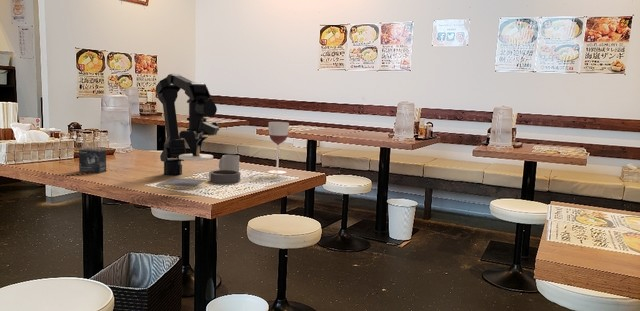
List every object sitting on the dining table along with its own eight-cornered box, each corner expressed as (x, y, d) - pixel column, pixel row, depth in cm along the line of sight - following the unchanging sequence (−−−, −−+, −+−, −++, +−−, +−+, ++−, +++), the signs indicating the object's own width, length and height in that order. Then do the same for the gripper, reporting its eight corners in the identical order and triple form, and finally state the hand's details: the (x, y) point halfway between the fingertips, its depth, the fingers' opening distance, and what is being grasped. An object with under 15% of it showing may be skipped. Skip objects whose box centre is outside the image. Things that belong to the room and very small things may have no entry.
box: (78, 172, 206) (78, 149, 205) (86, 170, 211) (86, 148, 210) (98, 173, 204) (98, 151, 203) (106, 171, 210) (106, 149, 209)
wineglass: (263, 172, 224) (264, 122, 221) (273, 169, 234) (275, 121, 231) (281, 174, 221) (282, 123, 218) (290, 171, 230) (292, 122, 227)
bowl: (205, 183, 192) (205, 173, 192) (215, 178, 204) (215, 169, 203) (234, 185, 191) (235, 175, 190) (243, 180, 203) (243, 171, 202)
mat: (158, 185, 185) (158, 184, 185) (173, 179, 199) (173, 177, 199) (194, 188, 183) (194, 186, 183) (207, 181, 197) (207, 180, 197)
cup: (231, 178, 206) (232, 157, 205) (213, 175, 211) (213, 155, 210) (242, 176, 212) (242, 156, 211) (224, 173, 217) (224, 153, 216)
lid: (172, 159, 186) (173, 146, 185) (187, 155, 199) (187, 143, 198) (205, 161, 184) (205, 148, 183) (217, 157, 197) (218, 144, 196)
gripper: (207, 117, 179) (206, 159, 181) (224, 115, 197) (224, 153, 199) (178, 115, 181) (178, 157, 182) (198, 114, 199) (198, 152, 201)
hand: (196, 155), depth 191 cm, fingers closed on lid, 3 cm apart
